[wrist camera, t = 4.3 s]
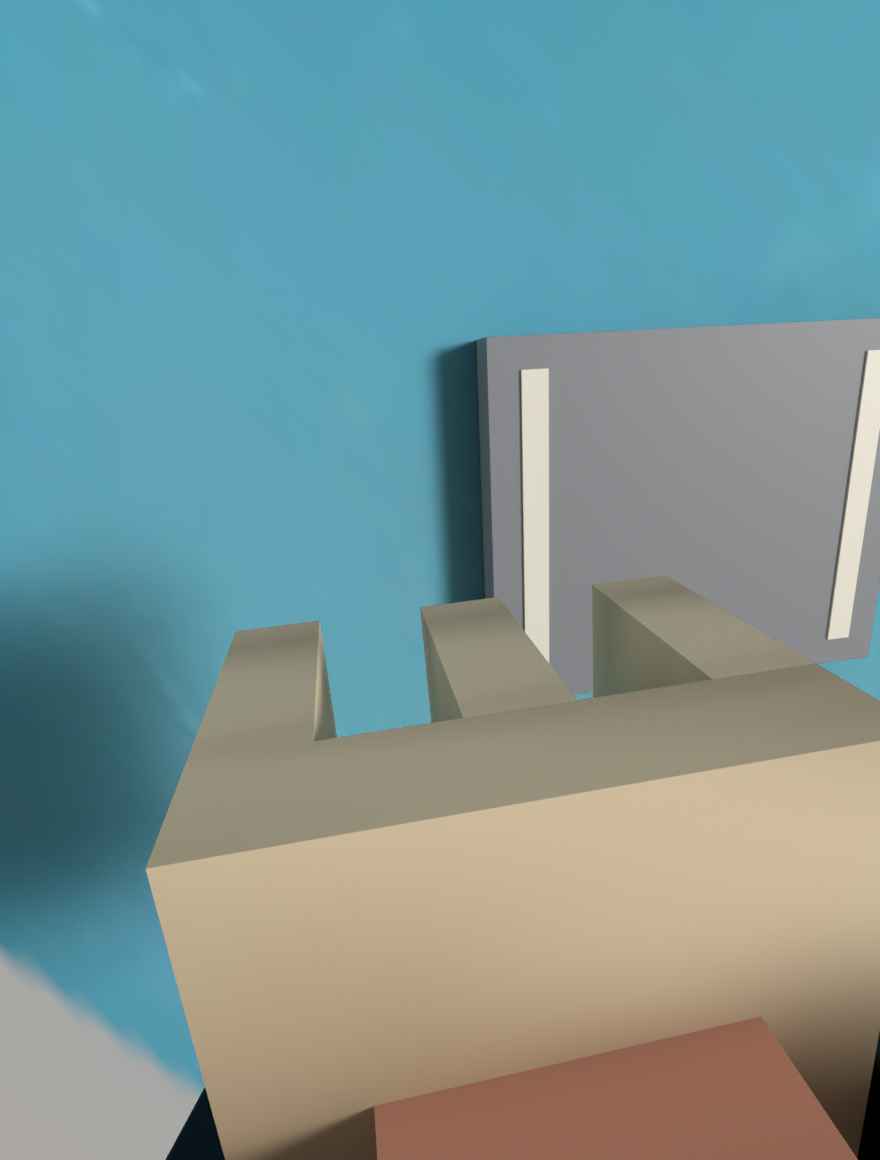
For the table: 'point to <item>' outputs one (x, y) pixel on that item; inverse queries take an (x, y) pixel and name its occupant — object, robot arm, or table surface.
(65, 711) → the table surface
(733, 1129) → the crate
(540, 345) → the dock
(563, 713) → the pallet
